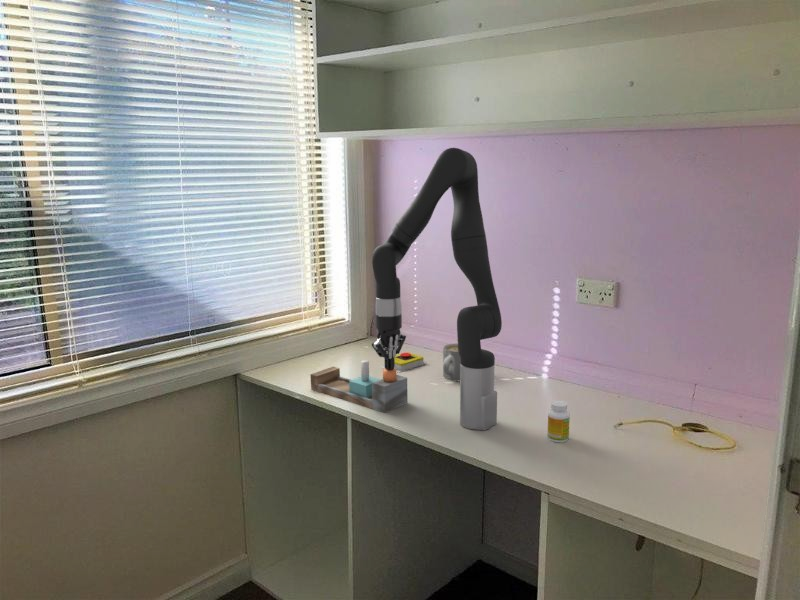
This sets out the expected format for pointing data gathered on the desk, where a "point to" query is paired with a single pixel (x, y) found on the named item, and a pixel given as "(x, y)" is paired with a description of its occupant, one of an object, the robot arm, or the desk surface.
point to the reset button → (389, 375)
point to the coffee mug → (451, 362)
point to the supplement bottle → (558, 422)
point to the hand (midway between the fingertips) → (389, 369)
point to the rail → (382, 397)
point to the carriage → (363, 382)
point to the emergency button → (407, 361)
